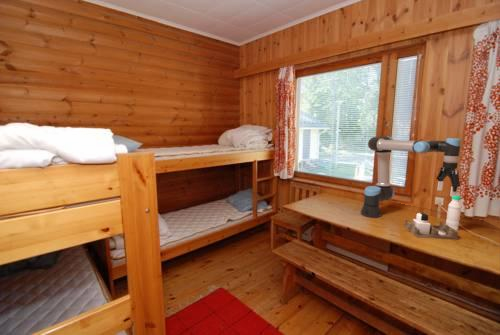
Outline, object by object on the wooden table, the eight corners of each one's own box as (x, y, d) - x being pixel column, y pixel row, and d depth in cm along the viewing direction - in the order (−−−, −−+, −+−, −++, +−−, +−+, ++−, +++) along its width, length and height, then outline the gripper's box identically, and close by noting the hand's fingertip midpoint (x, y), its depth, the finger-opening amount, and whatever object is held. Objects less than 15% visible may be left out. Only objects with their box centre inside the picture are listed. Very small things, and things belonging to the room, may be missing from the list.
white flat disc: (428, 229, 169) (428, 228, 168) (441, 230, 167) (441, 229, 167) (435, 235, 161) (435, 233, 160) (449, 236, 159) (449, 234, 159)
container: (424, 229, 168) (426, 212, 166) (429, 234, 161) (431, 216, 159) (411, 228, 170) (413, 211, 168) (416, 233, 163) (418, 215, 161)
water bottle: (442, 228, 173) (447, 195, 168) (448, 226, 175) (453, 194, 171) (453, 232, 166) (459, 198, 162) (460, 230, 169) (465, 196, 164)
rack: (404, 227, 176) (405, 219, 174) (440, 229, 172) (441, 221, 171) (416, 238, 158) (418, 230, 157) (457, 241, 154) (459, 232, 153)
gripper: (432, 159, 169) (429, 188, 173) (457, 165, 145) (452, 198, 149) (444, 159, 168) (440, 188, 172) (471, 165, 144) (465, 199, 148)
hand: (445, 193), depth 160 cm, fingers open, 13 cm apart
